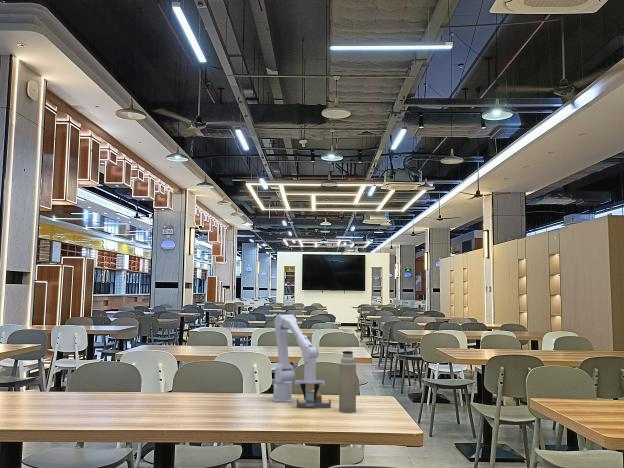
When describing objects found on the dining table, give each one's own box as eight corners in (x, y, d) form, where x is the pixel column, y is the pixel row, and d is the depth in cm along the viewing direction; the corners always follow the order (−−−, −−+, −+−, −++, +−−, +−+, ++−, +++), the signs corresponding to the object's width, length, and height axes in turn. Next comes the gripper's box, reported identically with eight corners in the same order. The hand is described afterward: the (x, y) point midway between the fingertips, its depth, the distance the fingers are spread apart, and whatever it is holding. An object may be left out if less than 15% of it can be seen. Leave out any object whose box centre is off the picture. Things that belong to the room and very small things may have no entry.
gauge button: (310, 398, 285) (310, 391, 286) (310, 397, 288) (310, 390, 289) (316, 398, 285) (316, 391, 286) (316, 397, 288) (316, 390, 289)
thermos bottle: (356, 409, 271) (357, 350, 273) (354, 413, 263) (355, 352, 266) (340, 408, 272) (341, 350, 275) (337, 412, 264) (338, 351, 267)
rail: (296, 407, 274) (296, 399, 274) (296, 406, 277) (296, 398, 277) (330, 407, 274) (330, 400, 274) (330, 406, 277) (330, 399, 277)
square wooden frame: (305, 404, 282) (305, 395, 283) (305, 400, 290) (305, 393, 291) (321, 404, 282) (321, 396, 283) (321, 401, 290) (321, 393, 291)
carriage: (305, 406, 273) (305, 393, 274) (305, 404, 278) (305, 391, 279) (313, 406, 273) (313, 393, 274) (313, 404, 278) (313, 391, 279)
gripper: (295, 372, 273) (294, 401, 272) (325, 372, 273) (324, 401, 272) (295, 370, 280) (295, 398, 279) (324, 370, 280) (324, 398, 279)
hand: (309, 399), depth 276 cm, fingers closed on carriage, 4 cm apart
